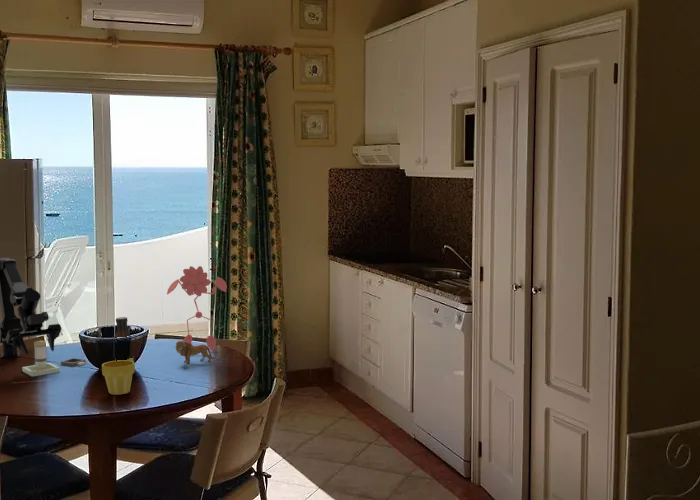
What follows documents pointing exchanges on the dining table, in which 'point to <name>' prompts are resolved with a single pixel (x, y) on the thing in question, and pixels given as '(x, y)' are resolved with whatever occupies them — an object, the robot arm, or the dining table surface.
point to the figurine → (197, 285)
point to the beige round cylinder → (40, 355)
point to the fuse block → (73, 362)
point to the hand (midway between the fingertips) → (40, 352)
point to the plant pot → (118, 376)
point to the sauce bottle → (122, 329)
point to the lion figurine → (192, 351)
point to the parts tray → (50, 369)
